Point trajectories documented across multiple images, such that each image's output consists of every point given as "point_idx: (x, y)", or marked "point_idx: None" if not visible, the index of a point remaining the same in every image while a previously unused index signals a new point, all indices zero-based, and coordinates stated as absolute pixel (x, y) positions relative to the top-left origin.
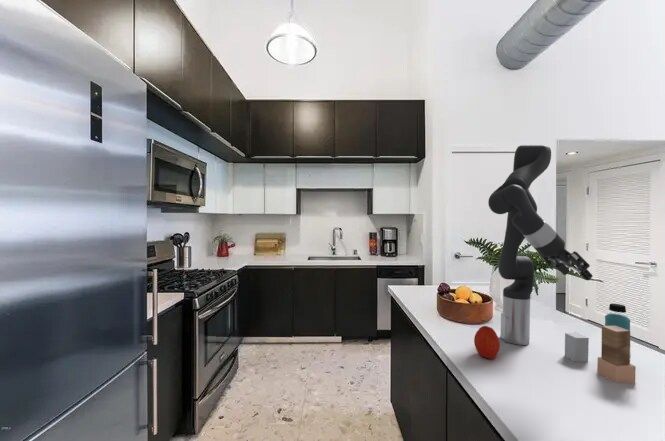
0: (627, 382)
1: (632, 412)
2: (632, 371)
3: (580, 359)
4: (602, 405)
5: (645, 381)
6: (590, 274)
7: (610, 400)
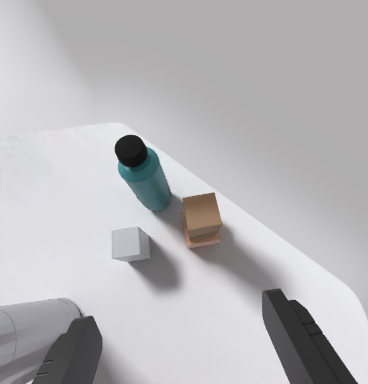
0: None
1: (305, 284)
2: None
3: (149, 248)
4: None
5: None
6: (311, 321)
7: None
